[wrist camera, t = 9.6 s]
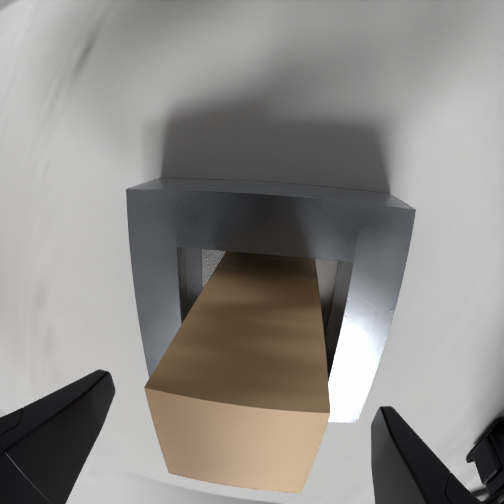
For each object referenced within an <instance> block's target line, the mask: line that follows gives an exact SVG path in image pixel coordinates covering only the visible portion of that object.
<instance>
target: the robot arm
mask: <svg viewBox="0 0 504 504" xmlns="http://www.w3.org/2000/svg"><path fill="white" fill-rule="evenodd" d="M114 395H115V386H114V383H113V380H112V376H111V374H110V373H109V372H108V371H104V370H101V369H99V370H97V371H95V372H93V373H91V374H89V375H87V376H85V377H83V378H81V379H79V380H77V381H75V382H73V383H71V384H69V385H67V386H65V387H63V388H61V389H59V390H57V391H55V392H53V393H51V394H49V395H47V396H45V397H43V398H41V399H39V400H37V401H35V402H33V403H31V404H29V405H27V406H25V407H24V408H21V409H19V410H16V411H14V412H12V413H10V414H8V415H5V416H3V417H0V504H65V503H66V501H67V499H68V497H69V495H70V493H71V491H72V488H73V486H74V484H75V482H76V480H77V478H78V476H79V474H80V472H81V469H82V467H83V465H84V463H85V461H86V459H87V457H88V455H89V453H90V451H91V449H92V447H93V445H94V443H95V441H96V439H97V437H98V435H99V433H100V431H101V429H102V427H103V424H104V422H105V419H106V416H107V413H108V411H109V408H110V405H111V403H112V400H113V397H114ZM466 461H467V463H470V462H474V461H475V464H476V467H477V470H478V473H479V476H480V479H481V482H482V484H483V485H486V488H487V491H488V494H489V498H487V499H486V500H484V501H480V500H478V499H477V498H476V497H475V496H474V495H473V494H472V493H471V492H470V491H469V490H467V489H466V488H465V487H464V486H463V485H462V483H461V482H460V481H459V480H458V479H457V478H456V477H455V476H454V475H453V474H452V473H450V471H449V469H448V468H447V467H446V466H445V465H444V464H443V463H442V462H441V461H440V459H439V458H438V457H437V456H436V455H435V454H434V453H433V452H432V451H431V449H430V448H429V447H428V446H427V445H426V444H425V443H424V442H423V441H422V439H421V438H420V437H419V436H418V435H417V434H416V433H415V432H414V430H413V429H412V428H411V427H410V426H409V425H408V424H407V423H406V422H405V420H404V419H403V418H402V417H401V416H400V415H399V414H398V413H397V412H396V410H395V409H394V408H393V407H391V406H381V407H379V409H378V410H377V413H376V415H375V417H374V419H373V422H372V425H371V463H372V476H373V485H374V495H375V504H504V417H503V418H499V419H497V420H496V421H495V422H494V423H493V424H492V426H491V427H490V428H489V430H488V431H487V433H486V434H485V435H484V437H483V438H482V439H481V441H480V442H479V443H478V445H477V446H476V447H475V448H474V450H473V451H472V452H471V453H470V455H469V456H468V457H467V458H466Z"/></svg>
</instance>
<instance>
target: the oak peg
mask: <svg viewBox="0 0 504 504" xmlns="http://www.w3.org/2000/svg"><path fill="white" fill-rule="evenodd" d="M144 388H145V392H146V396H147V400H148V404H149V408H150V412H151V416H152V420H153V423H154V427H155V430H156V434H157V437H158V441H159V444H160V447H161V450H162V454H163V457H164V460H165V463H166V466H167V469H168V472H169V473H170V474H174V475H178V476H182V477H187V478H191V479H196V480H200V481H205V482H211V483H216V484H222V485H228V486H234V487H241V488H249V489H257V490H267V491H278V492H293V493H301V492H302V490H303V487H304V485H305V483H306V480H307V478H308V475H309V473H310V470H311V467H312V465H313V462H314V460H315V457H316V454H317V452H318V449H319V446H320V443H321V440H322V438H323V435H324V432H325V429H326V426H327V423H328V420H329V417H330V414H331V411H330V396H329V383H328V371H327V360H326V349H325V339H324V330H323V320H322V311H321V303H320V295H319V287H318V279H317V271H316V264H315V258H303V257H291V256H279V255H268V254H256V253H244V252H232V251H226V253H225V254H224V256H223V258H222V259H221V261H220V262H219V264H218V266H217V267H216V269H215V271H214V272H213V274H212V275H211V277H210V279H209V280H208V282H207V284H206V285H205V287H204V288H203V290H202V292H201V293H200V295H199V297H198V298H197V300H196V302H195V303H194V305H193V307H192V308H191V310H190V311H189V313H188V315H187V316H186V318H185V320H184V321H183V323H182V325H181V326H180V328H179V330H178V331H177V333H176V335H175V336H174V338H173V340H172V341H171V343H170V345H169V346H168V348H167V350H166V351H165V353H164V355H163V357H162V358H161V360H160V362H159V363H158V365H157V367H156V368H155V370H154V372H153V373H152V375H151V377H150V379H149V380H148V382H147V384H146V385H145V387H144Z"/></svg>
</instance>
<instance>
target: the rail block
mask: <svg viewBox="0 0 504 504" xmlns="http://www.w3.org/2000/svg"><path fill="white" fill-rule="evenodd" d="M126 195H127V215H128V229H129V242H130V253H131V263H132V273H133V281H134V289H135V297H136V304H137V311H138V318H139V324H140V331H141V336H142V342H143V348H144V353H145V359H146V364H147V369H148V374H149V379H150V377H151V375H152V373H153V372H154V370H155V368H156V367H157V365H158V363H159V362H160V360H161V358H162V357H163V355H164V353H165V351H166V350H167V348H168V346H169V345H170V343H171V341H172V340H173V338H174V336H175V335H176V333H177V331H178V330H179V328H180V326H181V325H182V323H183V321H184V320H185V318H186V316H187V315H188V313H189V311H190V310H191V308H192V307H193V305H194V303H195V302H196V300H197V298H198V297H199V295H200V293H201V292H202V261H201V249H209V250H221V251H232V252H244V253H256V254H268V255H279V256H291V257H303V258H315V259H326V260H338V268H337V274H336V281H335V287H334V293H333V299H332V305H331V311H330V316H329V322H328V327H327V332H326V337H325V349H326V360H327V371H328V383H329V396H330V411H331V414H330V417H329V420H328V422H357V420H358V418H359V415H360V413H361V410H362V408H363V405H364V403H365V400H366V398H367V395H368V392H369V390H370V387H371V384H372V381H373V379H374V376H375V373H376V370H377V367H378V364H379V361H380V358H381V355H382V352H383V349H384V345H385V342H386V339H387V336H388V332H389V329H390V325H391V322H392V318H393V315H394V311H395V307H396V303H397V300H398V296H399V292H400V288H401V283H402V279H403V275H404V270H405V266H406V261H407V256H408V251H409V246H410V241H411V235H412V230H413V224H414V218H415V211H416V210H415V209H414V208H412V207H411V206H409V205H408V204H406V203H404V202H403V201H401V200H399V199H398V198H396V197H395V196H393V195H391V194H386V193H378V192H370V191H361V190H352V189H343V188H333V187H323V186H312V185H300V184H288V183H274V182H258V181H240V180H218V179H185V178H159V179H156V180H153V181H149V182H146V183H143V184H140V185H137V186H134V187H131V188H128V189H126Z"/></svg>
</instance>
